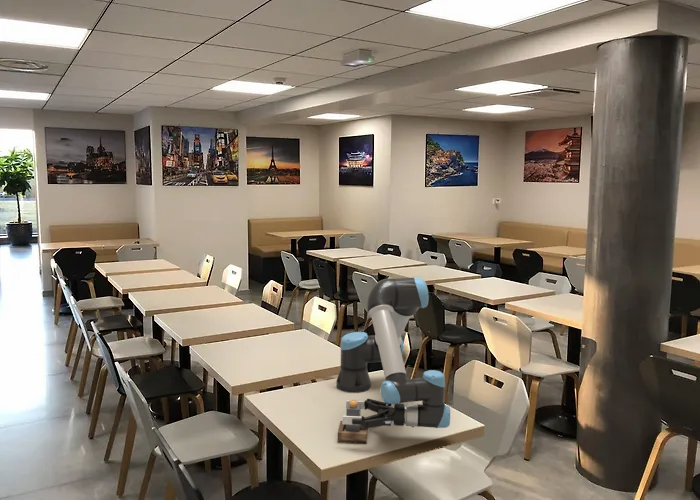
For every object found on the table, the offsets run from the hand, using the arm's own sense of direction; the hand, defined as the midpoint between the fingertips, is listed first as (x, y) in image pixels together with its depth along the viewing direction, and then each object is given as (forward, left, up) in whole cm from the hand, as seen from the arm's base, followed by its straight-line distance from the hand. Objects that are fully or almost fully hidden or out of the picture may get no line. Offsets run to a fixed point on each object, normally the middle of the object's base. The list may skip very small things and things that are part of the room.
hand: (344, 411), depth 200 cm
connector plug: (-1, +3, -8) cm, 9 cm away
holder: (-1, +3, -9) cm, 10 cm away
